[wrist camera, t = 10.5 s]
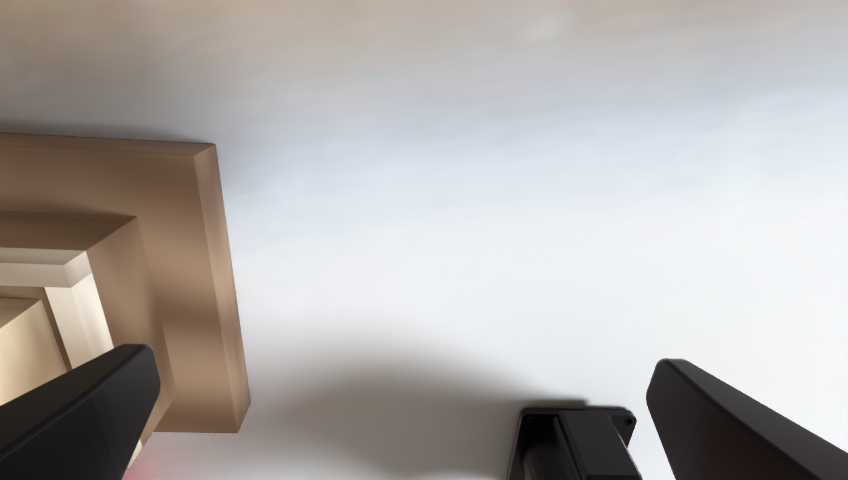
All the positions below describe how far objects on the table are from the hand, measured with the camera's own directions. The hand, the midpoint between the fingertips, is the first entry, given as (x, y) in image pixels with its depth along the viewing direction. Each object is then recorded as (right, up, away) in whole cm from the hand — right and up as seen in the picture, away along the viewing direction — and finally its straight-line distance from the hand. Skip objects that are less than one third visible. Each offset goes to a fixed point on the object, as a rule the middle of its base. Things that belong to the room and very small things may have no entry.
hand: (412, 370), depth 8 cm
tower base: (-16, 0, +13) cm, 20 cm away
